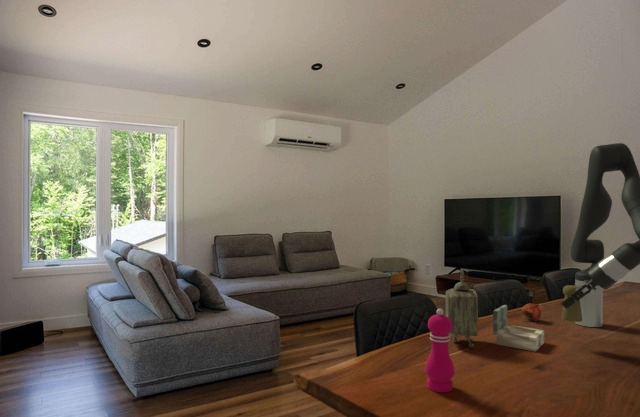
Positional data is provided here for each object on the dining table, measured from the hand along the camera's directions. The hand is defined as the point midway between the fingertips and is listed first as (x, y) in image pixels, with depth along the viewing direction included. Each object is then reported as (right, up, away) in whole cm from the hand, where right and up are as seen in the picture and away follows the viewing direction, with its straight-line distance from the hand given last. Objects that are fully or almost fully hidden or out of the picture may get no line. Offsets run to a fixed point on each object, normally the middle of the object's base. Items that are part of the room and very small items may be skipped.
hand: (565, 304), depth 148 cm
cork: (+1, -5, -1) cm, 5 cm away
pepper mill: (-51, -14, -34) cm, 63 cm away
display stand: (-14, -14, +3) cm, 20 cm away
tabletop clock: (-34, -14, +3) cm, 36 cm away
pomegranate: (+4, -14, +33) cm, 36 cm away
